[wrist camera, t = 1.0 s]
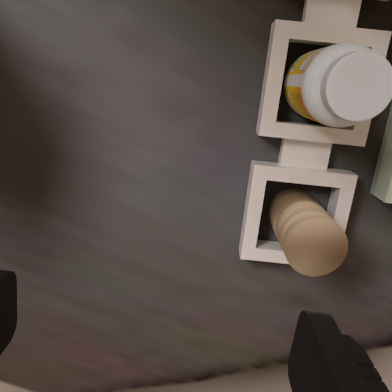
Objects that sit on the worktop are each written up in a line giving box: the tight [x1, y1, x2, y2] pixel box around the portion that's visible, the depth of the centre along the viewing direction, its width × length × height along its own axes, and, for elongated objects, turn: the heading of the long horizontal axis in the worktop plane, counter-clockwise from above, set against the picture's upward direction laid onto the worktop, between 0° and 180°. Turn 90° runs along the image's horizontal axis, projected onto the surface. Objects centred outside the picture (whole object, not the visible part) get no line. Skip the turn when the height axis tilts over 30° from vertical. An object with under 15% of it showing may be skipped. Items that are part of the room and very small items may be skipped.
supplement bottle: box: [284, 42, 392, 128], centre depth 26 cm, size 5×5×10 cm
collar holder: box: [239, 0, 392, 264], centre depth 30 cm, size 31×9×2 cm, turn 174°
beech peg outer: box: [268, 188, 348, 276], centre depth 30 cm, size 4×4×8 cm
